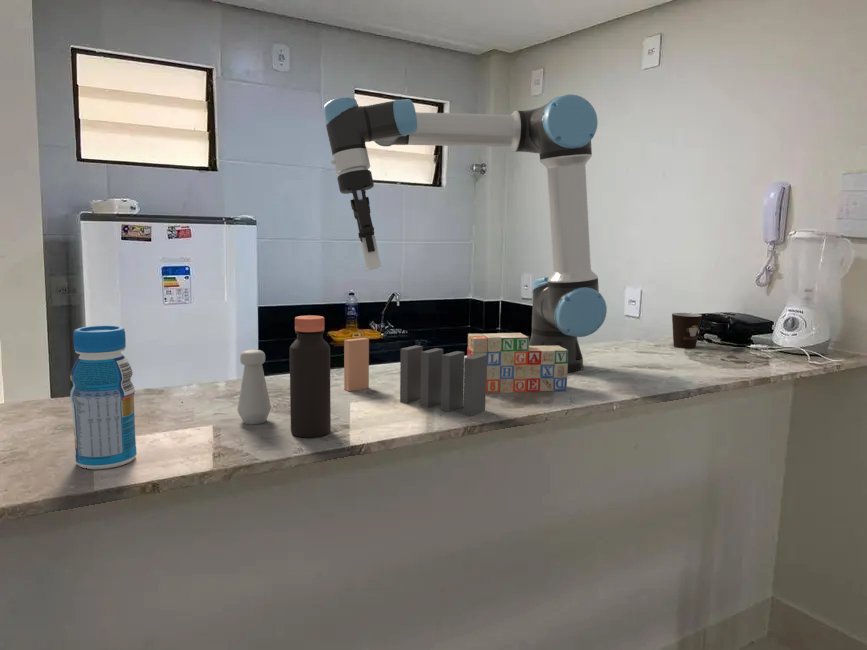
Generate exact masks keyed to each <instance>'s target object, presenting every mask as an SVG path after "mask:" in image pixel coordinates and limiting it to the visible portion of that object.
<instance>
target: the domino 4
mask: <svg viewBox="0 0 867 650" xmlns="http://www.w3.org/2000/svg"><path fill="white" fill-rule="evenodd" d="M486 362H487V355H482V354H477V355H474V356H470V357H467V356H466V357H464V390H463V406H462V408H463V410H462V411H463V412H462V413H463V414H462V415H463V416H467V415H468V416H469V417H473V416H475V415H477V414H480V413H482V412H484V411H486V394H487V393H486Z"/></svg>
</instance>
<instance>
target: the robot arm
mask: <svg viewBox="0 0 867 650" xmlns="http://www.w3.org/2000/svg"><path fill="white" fill-rule="evenodd" d="M323 116H324V121H325V122H324V123H325V127H326V132H327V136H328V141H329V146H330V148H331V149H330V150H331V153H332V158H333V160H331V161H330V163H331V165H332V166H334V165H335V166H334V167H335V173H336V174H337V184H338V188H339V191H340V193H341V194H343V195H345V194H346V195H347V194H349V195H350V194H352V199H350V206H351V209H352V210H353V217H354V219H355V220H356V223H357V227H358V229H357V230H358V233H357V234H358V239H359V240H360V245H361V249H362V254H363V258H364V264H365V268H366V271H371V270H377V269H379V268H381V267H382V265H381V259H380V255H379V250H378V245H377V240H376V236H375V231H374V230H375V227H374V225H373V222H372V217H371V213H372V212H371V206H370V205H371V204H370V198H369V196H367V195H366V194H367V191H368V190H371V189H373V187H375V185H374V179H373V175H372V173H373V172H372V171H371V170H369V169H370V168H371V164H370V163H371V162H370V158H369V154H368V149H367V145H366V143H369V142H374V143H375V144H376V145H378V146H381V147H391V146H439V147H440V146H444V147H448V146H449V147H484V148H485V147H486V148H487V147H488V148H489V147H491V148H509V149H510V150H511V151H512V152H515V153H516V152H518V153H519V152H520V153H521V152H522V153H531V154H532V153H533V154H539V162H540V163H541V164H542V165H543V166H545V168H546V171H547V174H546V175H547V185H548V186H547V189H548V203H549V204H548V206H549V207H548V208H549V219H550V221H549V222H550V223H549V224H550V236H551V239H550V240H551V252H552V254H551V256H552V268H553V269H552V270H553V272H552V274H550V276H549V277H547V276H546V277H538V278H536V279H535V280H534V281H533V288H532V312H531V314H532V315H531V336H530V338H529V346H560V347H562V348H565V349H566V350H568V363H567V364H568V372H567V373H569V372H576V371H580V370H582V369H583V367H584V359H583V358H584V357H583V355H582V351H581V346H580V344H579V339H578V338H582V337H588V336H590V335H593V334H594V333H596V332H597V331H598V330H599V329H600V328H601V327H602V325H603V324H604V322H605V320H606V318H607V313H608V312H607V309H608V307H607V303H606V300H605V298H604V297H603V295H602V294H601V292H600V289H599V277H598V275H597V274H596V273H595V272H594V271H593V270H592V268H591V266H592V265H591V249H590V246H591V245H590V227H589V210H588V208H589V206H588V192H587V191H588V190H587V189H588V188H587V173H586V172H587V170H586V165H587V163H588V161H589V160H590V159H591V158H592V156H593V153H592V152H593V151H592V149H593V148H592V140H593V138H594V137H595V135H596V132H597V130H598V125H599V124H598V115H597V112H596V110H595V107H594V106H593V105H592V103H590V101H588V100H587V99H586V98H585V97H582V96H581V95H578V94H564V95H562V96H561V95H560V96H555V97H554V98H553V99H551V100H550V101H549V102H547V103H546V104H544V105H543V106H540V107H536V108H533V109H527V110H514V111H513V112H512V113H511V114H495V113H493V114H492V113H491V114H488V113H453V112H449V113H447V112H420V111H419V112H416V108H415V104H414V102H413V101H412V100H411V99H409V98H406V99H395V100H391V101H386V102H381V103H375V104H369V105H363V106H362V105H360V106H359V104H358V102H357V100H356V99H355V98H354V97H351V96H348V97H338V98H334V99H331V100H329V101H328V102H326V103H325V104H324V107H323Z"/></svg>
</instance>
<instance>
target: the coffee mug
mask: <svg viewBox="0 0 867 650" xmlns="http://www.w3.org/2000/svg"><path fill="white" fill-rule="evenodd" d="M671 319H672V339H673V340H672V342H673V343H672V344H673V347H674V348H677V349H684V350H685V349H688V350H690V349H691V350H692V349H696V347H697V342H698V338H699V336H701V335H702V334H703V333H704V332H705V331H706V330H707V329H708V328H709V325H710V324H709V322H710V321H709V320H708V319H707V318H705V317H703V315H702V314H699V313H692V312H690V313H689V312H673V313H671ZM702 321H705V323H706V326H705V327H704V329H703V330H702V331H700V327H701V323H702Z"/></svg>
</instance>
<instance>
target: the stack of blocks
mask: <svg viewBox="0 0 867 650" xmlns="http://www.w3.org/2000/svg"><path fill="white" fill-rule="evenodd" d="M529 341H530V337H529V336H527V335H525V334H523V333H521V332H497V333H467V348H466V351H467V352H466V355H467V356H466V358H467V357H470V356H474V355H477V354H482V355H487V362H486V394H487V393H489V394H492V393H493V394H494V393H497V394H498V393H525V392H526V393H529V392H530V393H531V392H532V393H533V392H562V391H564V392H566V391H567V384H568V373H569V372H568V364H567V363H568V350H566V349H565V348H562V347H560V346H529Z"/></svg>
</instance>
